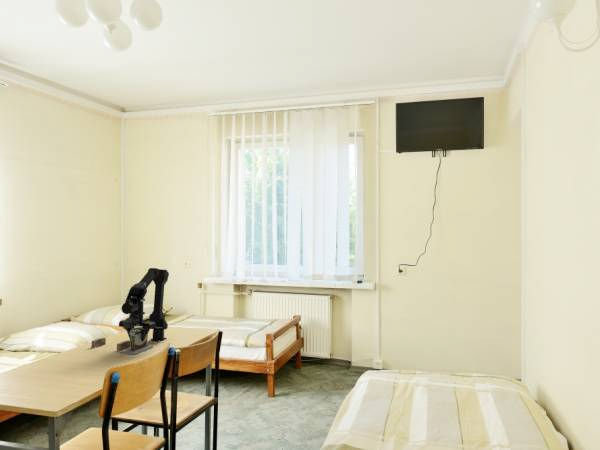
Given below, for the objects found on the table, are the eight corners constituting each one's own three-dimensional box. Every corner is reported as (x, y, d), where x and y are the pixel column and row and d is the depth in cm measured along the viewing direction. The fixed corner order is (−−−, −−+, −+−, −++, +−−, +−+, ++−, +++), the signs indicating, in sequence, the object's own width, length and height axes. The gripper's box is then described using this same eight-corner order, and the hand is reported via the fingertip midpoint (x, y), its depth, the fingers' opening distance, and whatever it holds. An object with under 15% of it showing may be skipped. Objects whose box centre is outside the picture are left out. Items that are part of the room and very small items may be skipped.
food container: (138, 344, 242) (140, 325, 242) (148, 346, 240) (149, 327, 240) (122, 349, 231) (124, 330, 230) (132, 352, 229) (134, 332, 229)
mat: (138, 346, 243) (138, 344, 243) (153, 347, 240) (153, 346, 240) (119, 353, 229) (119, 352, 229) (134, 354, 226) (134, 353, 226)
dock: (102, 344, 246) (102, 337, 246) (130, 347, 240) (130, 340, 240) (91, 347, 238) (91, 340, 238) (120, 350, 233) (120, 344, 233)
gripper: (111, 312, 230) (110, 343, 230) (142, 314, 224) (142, 346, 224) (126, 308, 240) (125, 338, 240) (156, 311, 235) (155, 341, 235)
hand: (136, 341), depth 234 cm, fingers open, 7 cm apart
